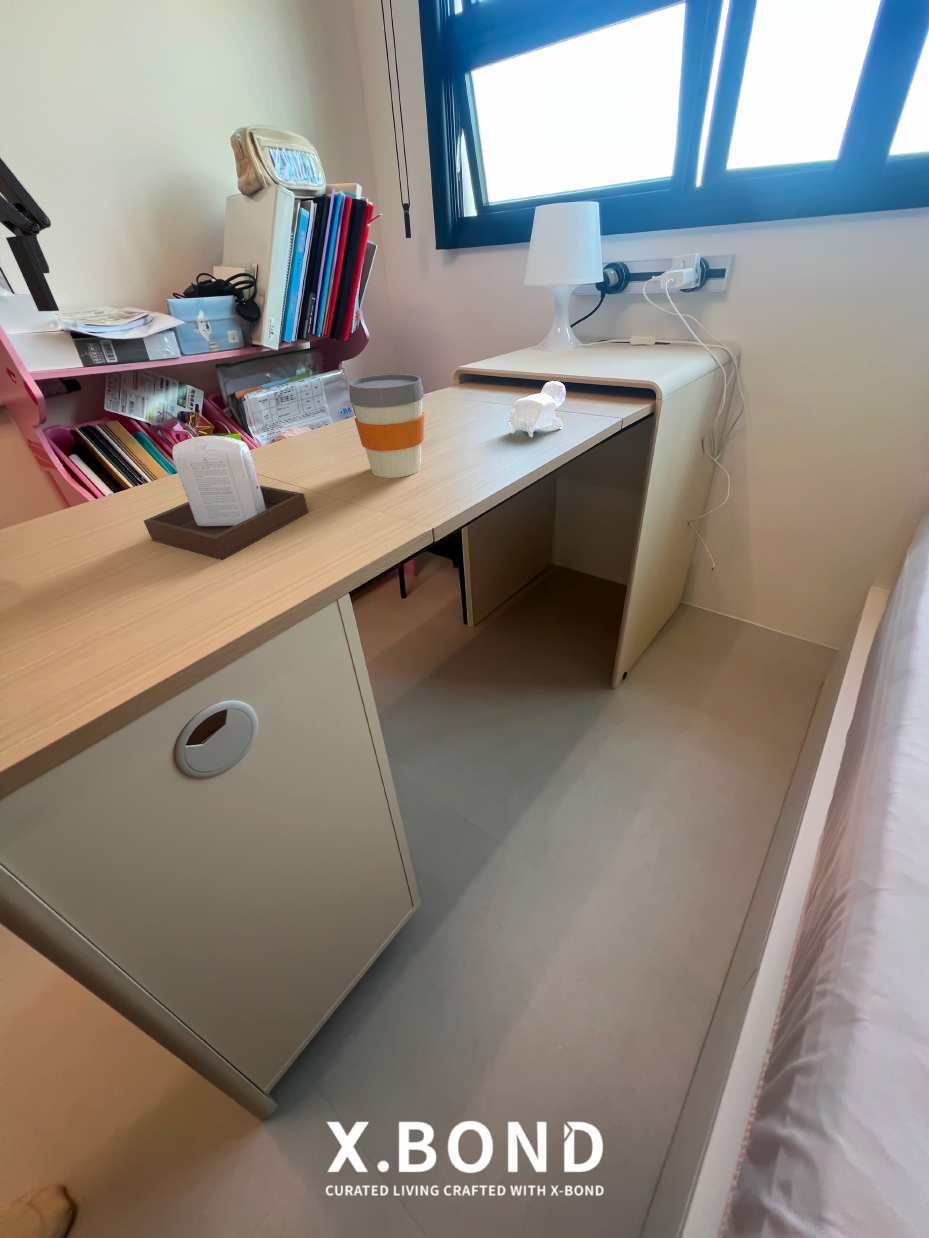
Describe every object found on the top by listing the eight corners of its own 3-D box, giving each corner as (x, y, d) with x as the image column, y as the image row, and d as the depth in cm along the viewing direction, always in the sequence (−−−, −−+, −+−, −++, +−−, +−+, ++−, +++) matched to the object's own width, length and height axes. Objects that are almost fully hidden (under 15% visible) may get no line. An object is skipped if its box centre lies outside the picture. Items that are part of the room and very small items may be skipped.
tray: (222, 560, 66) (214, 538, 65) (151, 540, 72) (143, 520, 70) (308, 512, 78) (304, 493, 76) (242, 499, 84) (236, 480, 82)
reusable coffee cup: (409, 454, 100) (400, 371, 91) (443, 470, 91) (436, 380, 83) (350, 468, 94) (335, 381, 86) (380, 486, 86) (367, 392, 77)
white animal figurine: (540, 451, 107) (579, 410, 112) (532, 415, 101) (574, 374, 106) (509, 444, 112) (547, 405, 117) (500, 410, 106) (541, 370, 111)
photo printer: (272, 514, 76) (249, 430, 69) (263, 526, 73) (237, 439, 66) (205, 517, 77) (175, 434, 70) (193, 529, 73) (160, 443, 66)
